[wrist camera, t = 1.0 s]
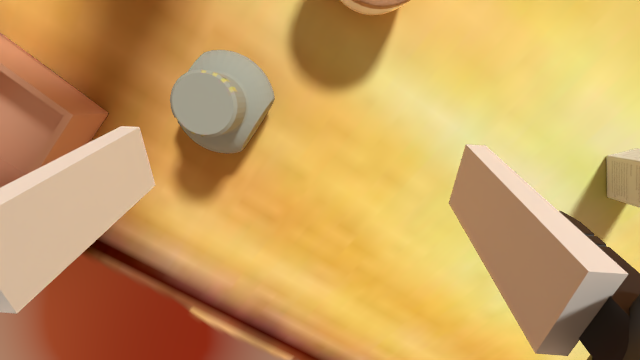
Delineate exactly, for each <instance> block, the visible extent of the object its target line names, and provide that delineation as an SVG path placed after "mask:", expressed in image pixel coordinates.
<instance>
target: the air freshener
mask: <svg viewBox="0 0 640 360" xmlns="http://www.w3.org/2000/svg"><path fill="white" fill-rule="evenodd" d="M274 99H275V98H274V92H273V89H272V86H271V84H270V82H269V80H268V78H267V76H266V75H265V73H264V72H263V71H262V69H261V68H260V67H259V66H257V65H256V64H255V63H254V62H253V61H251V60H250V59H249V58H247V57H245V56H243V55H241V54H239V53H236V52H232V51H226V50H212V51H208V52H205V53H203V54H202V55H201V56H200V57H199V58H198V59H197V60H196V61H195V62H194V64H193V65H192V67H191V68H190V69H189V71H188V72H187V73H185V74H184V75H182V76H181V77H180V78H179V79H178V80H177V81H176V83H175V84H174V86H173V89H172V92H171V98H170V103H171V109H172V112H173V115H174V117H176V118H177V120H178V123H179V124H180V126H181V127H182V129H183V130H184V132H185V133H186V134H187V135H188V136H189V137H190V138H191V139H192V140H193V141H194V142H196V143H197V144H199V145H200V146H202V147H204V148H206V149H208V150H211V151H215V152H219V153H237V152H241V151H242V150H243V149H244V148H245V146H246V145H247V144H248V142H249V141H250V139H251V138H252V136H253V135H254V133H255V132H256V130H257V129H258V127H259V126H260V124H261V123H262V121H263V119H264V118H265V116H266V114H267V113H268V111H269V109H270V107H271V105H272V104H273V102H274Z"/></svg>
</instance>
